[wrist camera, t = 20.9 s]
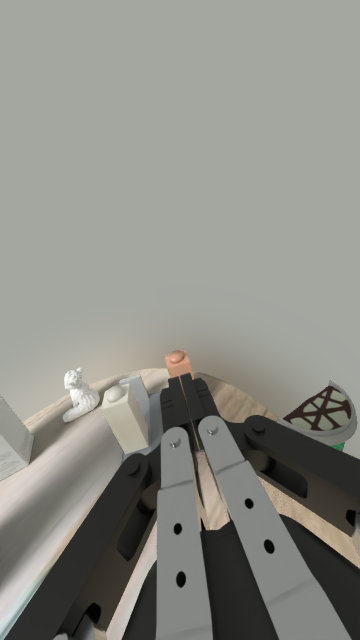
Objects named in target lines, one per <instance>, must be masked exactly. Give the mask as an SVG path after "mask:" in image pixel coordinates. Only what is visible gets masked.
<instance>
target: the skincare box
mask: <svg viewBox="0 0 360 640" xmlns="http://www.w3.org/2000/svg"><path fill="white" fill-rule="evenodd" d="M33 440H34V436H33V435H32V434H31V433H30V431H29V430H28V429H27V428H26V426H25V425H24V424H23V423H22V422H21V420H20V419H19V418H18V416H17V415H16V414H15V413H14V411H13V410H12V409H11V408H10V406H9V405H8V404H7V402H6V401H5V400H4V399H3V397H2V396H1V395H0V481H1V480H3V479H5V478H7V477H9V476H10V475H12V474H14V473H16V472H18V471H19V470H21V469H23V468H25V467H27V466H28V465H29V462H30V457H31V451H32V446H33Z"/></svg>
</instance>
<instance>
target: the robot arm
mask: <svg viewBox="0 0 360 640" xmlns="http://www.w3.org/2000/svg"><path fill="white" fill-rule="evenodd" d="M180 379H181V382H180ZM180 379H179V376H176V377H173V378H170V379H168V383H169V388H165V389H162V391H161V394H160V404H161V415H162V424H163V437H162V439H161V442H160V444H159V445H158V446H157V447H156V448H155V449H154V450H153V451H151V452H150V453H148V454H147V455H146V456H145V455H144V454H142V453H135V454H132V455H130V456H129V457H127V458H126V459H125V460H124V462H123V463H122V465H121V466H120V467H119V469H118V470H117V472H116V473H115V475H114V476H113V478H112V479H111V481H110V482H109V484H108V485H107V487H106V488H105V490H104V491H103V493H102V494H101V496H100V497H99V499H98V500H97V502H96V503H95V505H94V506H93V508H92V509H91V511H90V512H89V514H88V515H87V517H86V518H85V520H84V521H83V523H82V524H81V526H80V527H79V529H78V530H77V532H76V533H75V534H74V536H73V537H72V539H71V540H70V542H69V543H68V545H67V546H66V548H65V549H64V551H63V552H62V554H61V555H60V557H59V558H58V560H57V561H56V563H55V564H54V566H53V567H52V569H51V570H50V572H49V573H48V575H47V576H46V578H45V579H44V581H43V582H42V584H41V585H40V587H39V588H38V590H37V591H36V593H35V594H34V596H33V597H32V598H31V600H30V601H29V603H28V604H27V606H26V607H25V609H24V610H23V612H22V613H21V615H20V616H19V618H18V619H17V621H16V622H15V624H14V625H13V627H12V628H11V630H10V631H9V633H8V634H7V636H6V637H5V639H4V640H107V636H106V631H107V628H108V626H109V624H110V622H111V620H112V617H113V615H114V613H115V611H116V608H117V606H118V604H119V602H120V600H121V597H122V595H123V593H124V591H125V588H126V586H127V584H128V582H129V580H130V577H131V575H132V573H133V571H134V568H135V566H136V564H137V562H138V560H139V557H140V555H141V553H142V551H143V548H144V546H145V544H146V542H147V540H148V537H149V535H150V533H151V531H152V528H153V526H154V524H155V522H156V520H157V560H156V561H155V562H154V564H153V566H152V567H151V569H150V570H149V572H148V574H147V576H146V578H145V580H144V583H143V585H142V588H141V590H140V593H139V596H138V598H137V601H136V603H135V606H134V609H133V611H132V614H131V617H130V619H129V622H128V624H127V627H126V630H125V632H124V635H123V637H122V640H360V569H359V568H358V567H357V566H355V565H354V564H353V563H351V562H350V561H349V560H348V559H346V558H345V557H344V556H342V555H341V554H340V553H338V552H337V551H336V550H334V549H333V548H332V547H330V546H329V545H328V544H326V543H325V542H324V541H323V540H321V539H320V538H319V537H317V536H316V535H315V534H313V533H312V532H311V531H309V530H308V529H307V528H305V527H304V526H303V525H301V524H300V523H298V522H297V521H295V520H293V519H292V518H289V517H287V516H285V515H282V514H279V513H277V511H276V509H275V507H274V505H273V504H272V502H271V500H270V498H269V496H268V495H267V493H266V491H265V489H264V487H263V486H262V484H261V482H260V480H259V478H258V477H257V475H258V476H259V477H261V478H262V479H264V480H265V481H267V482H268V483H270V484H271V485H273V486H274V487H276V488H277V489H279V490H280V491H282V492H283V493H285V494H286V495H288V496H289V497H291V498H293V499H294V500H296V501H297V502H299V503H300V504H302V505H303V506H305V507H306V508H308V509H309V510H311V511H312V512H314V513H315V514H317V515H318V516H320V517H321V518H323V519H324V520H326V521H327V522H329V523H330V524H332V525H333V526H335V527H337V528H338V529H340V530H341V531H343V532H344V533H346V534H347V535H349V536H350V537H352V541H353V544H354V547H355V549H356V551H357V553H358V555H359V556H360V459H357V458H355V457H353V456H351V455H348V454H346V453H344V452H342V451H339V450H337V449H335V448H333V447H331V446H328V445H326V444H324V443H322V442H319V441H317V440H315V439H313V438H310V437H308V436H306V435H304V434H302V433H299V432H297V431H295V430H293V429H290V428H288V427H286V426H284V425H281V424H279V423H277V422H275V421H273V420H270V419H268V418H266V417H263V416H260V415H253V416H250V417H248V418H247V419H246V420H245V421H244V423H232V422H228V421H226V420H224V419H223V418H222V417H221V416H220V414H219V412H218V410H217V407H216V405H215V403H214V401H213V398H212V396H211V394H210V391H209V389H208V387H207V384H206V382H205V381H204V380H202V379H201V378H198V379H194V380H193V379H192V376H191V374H190V372H189V373H186V374H183V375H180ZM181 383H182V385H181ZM182 387H183V389H182ZM183 391H184V392H183ZM184 394H185V395H184ZM185 398H186V399H185ZM186 402H187V403H186ZM189 413H190V414H189ZM190 417H191V418H190ZM191 421H192V422H191ZM192 424H193V425H192ZM193 428H194V429H193ZM194 431H195V433H194ZM195 434H196V437H195ZM196 438H197V441H198V444H199V447H200V451H201V450H204V452H205V455H206V459H207V462H208V466H209V468H210V471H211V474H212V477H213V479H214V482H215V485H216V488H217V490H218V493H219V496H220V499H221V501H222V504H223V507H224V510H225V513H226V516H227V519H228V523H227V524H225V525H224V526H223V527H222V528H220V529H219V530H210V527H209V522H208V518H207V514H206V509H205V503H204V497H203V491H202V485H201V479H200V473H199V468H198V460H197V456H196V452H198V451H199V448H198V444H197V441H196Z"/></svg>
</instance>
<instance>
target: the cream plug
mask: <svg viewBox="0 0 360 640" xmlns="http://www.w3.org/2000/svg"><path fill="white" fill-rule="evenodd" d="M101 411H102V413H103V415H104V417H105V419H106V420H107V422H108V424H109V426H110V428H111V429H112V431H113V433H114V435H115V437H116V438H117V440H118V442H119V444H120V446H121V447H122V449H123V451H124V453H125V455H126V454H129V453H132V452H135V451H138V450H141V449H144V448H147V447H149V446H148V426H147V423H146V421H145V419H144V416H143V414H142V412H141V410H140V407H139V405H138V403H137V401H136V398H135V396H134V394H133V391H132V389H131V387H130V385H129V384H126V385H123V386H120V385H116V386H113V387H111V388H110V389H108V390H106V391H105V394H104V398H103V402H102V406H101Z"/></svg>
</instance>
